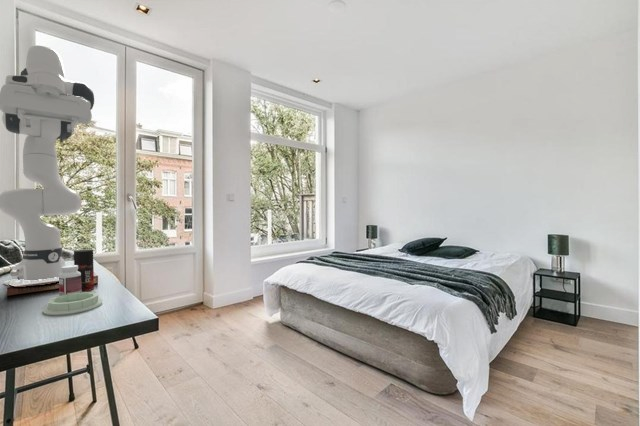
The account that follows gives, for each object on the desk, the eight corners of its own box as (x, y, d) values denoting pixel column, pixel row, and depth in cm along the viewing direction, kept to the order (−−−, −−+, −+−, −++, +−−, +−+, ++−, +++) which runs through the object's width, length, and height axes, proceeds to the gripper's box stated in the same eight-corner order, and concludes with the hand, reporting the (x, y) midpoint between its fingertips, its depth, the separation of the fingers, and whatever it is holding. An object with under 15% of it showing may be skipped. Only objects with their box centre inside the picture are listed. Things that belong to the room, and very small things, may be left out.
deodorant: (83, 291, 119) (82, 251, 118) (70, 291, 120) (69, 251, 119) (97, 287, 124) (97, 249, 124) (85, 287, 126) (84, 249, 125)
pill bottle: (85, 294, 115) (84, 264, 115) (76, 299, 109) (75, 267, 109) (65, 295, 114) (64, 265, 114) (55, 300, 108) (54, 268, 108)
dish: (30, 312, 96) (30, 302, 96) (81, 298, 111) (81, 289, 111) (65, 317, 92) (64, 307, 92) (113, 302, 106) (113, 293, 106)
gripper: (88, 105, 103) (93, 140, 99) (-1, 90, 89) (-1, 130, 85) (91, 92, 99) (95, 127, 95) (-2, 73, 85) (-2, 114, 81)
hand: (49, 128), depth 90 cm, fingers open, 8 cm apart
